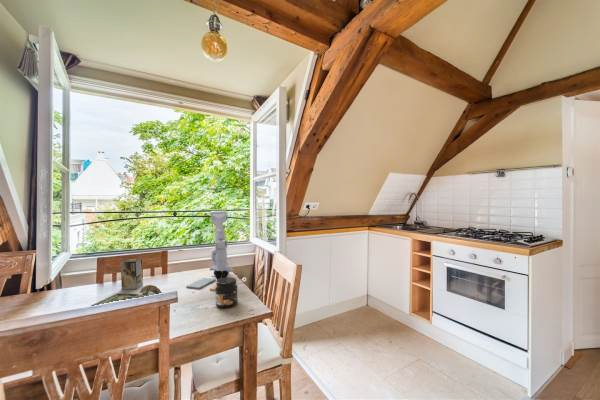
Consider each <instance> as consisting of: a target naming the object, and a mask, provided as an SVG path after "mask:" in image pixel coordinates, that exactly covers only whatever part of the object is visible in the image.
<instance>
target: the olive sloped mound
mask: <svg viewBox="0 0 600 400" xmlns="http://www.w3.org/2000/svg"><path fill="white" fill-rule="evenodd" d="M159 293H162V291H161V289H160V288H158V287H157V286H155V285H153V284H147V285H145V286H142V288H141V289H140V290H139V293H120V292H119V293H115V294H112V295H111V296H109V297H108V296H107V297H106V298H104V299H102V300H100V301H98V302H96V303H93V304H91V305H90V306H94V305H99V304H104V303H109V302H113V301H119V300H126V299H132V298H139V297H144V296H149V295H154V294H159ZM162 294H163V293H162Z"/></svg>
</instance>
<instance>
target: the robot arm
mask: <svg viewBox="0 0 600 400" xmlns="http://www.w3.org/2000/svg"><path fill="white" fill-rule="evenodd" d="M227 213H228V212H227V210H211V211H210V222H211V223H212V224H214V226H215V227H214V229H215V230H214V231H215V232H214V236H215V238H214V239H215V241H214V248H213V249H211V250H212V251H211V254H210V255H211V257H210V258H211V262H212V263H213V266H210V267H209V271H213V274H211V275H210V276H211V277H215V279H216V281H217V280H218V278H220V277H222V278H226V277H228V275H229V273H233V272H234V268H233V267H229V265H228V262H227V261H228V253H227V249H228V242H227V238H226V231H225V230H224V223H226V221H227V218H228V217H227Z"/></svg>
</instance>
